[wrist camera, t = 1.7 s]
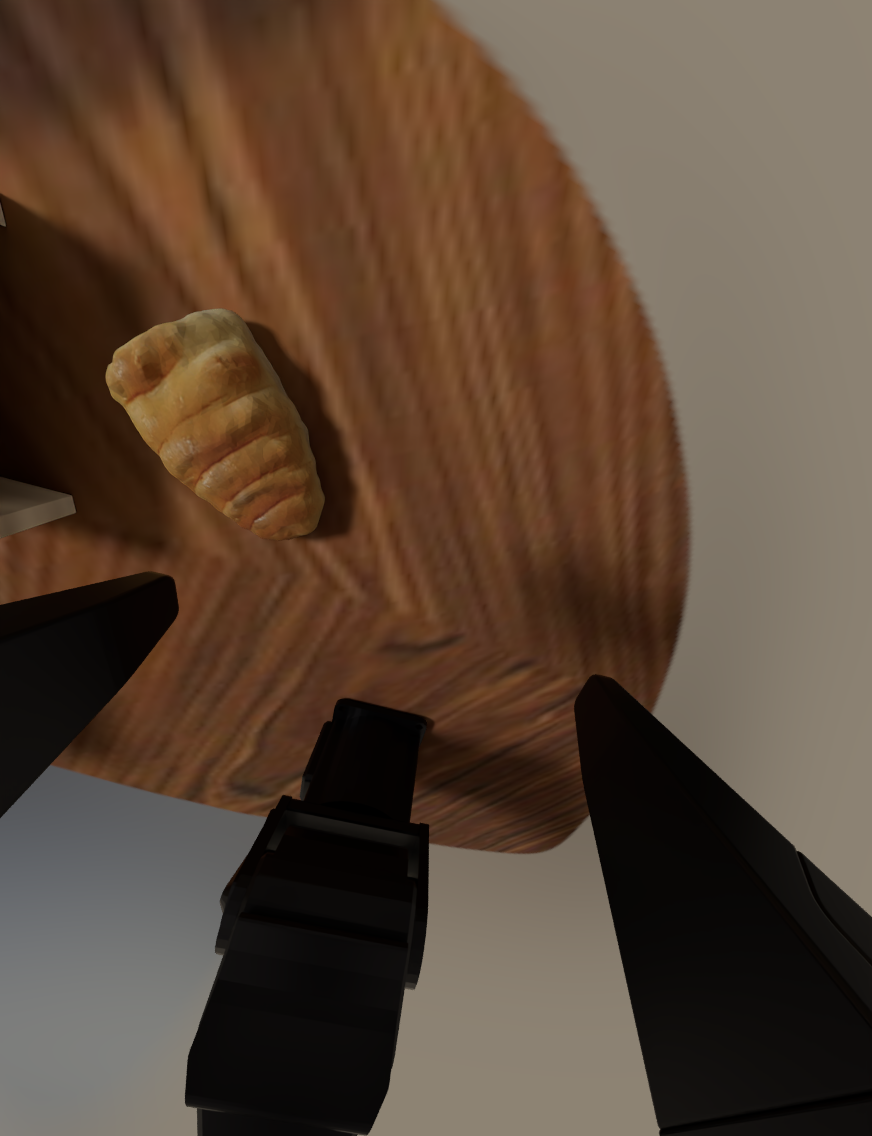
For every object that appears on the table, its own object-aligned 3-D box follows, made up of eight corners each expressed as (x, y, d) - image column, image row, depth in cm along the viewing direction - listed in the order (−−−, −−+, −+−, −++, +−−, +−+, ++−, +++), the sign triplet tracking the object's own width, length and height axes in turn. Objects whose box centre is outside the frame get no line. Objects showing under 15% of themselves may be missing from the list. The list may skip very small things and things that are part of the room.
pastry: (365, 498, 18) (342, 525, 15) (266, 550, 20) (225, 585, 16) (240, 296, 14) (171, 271, 11) (134, 384, 16) (47, 385, 13)
